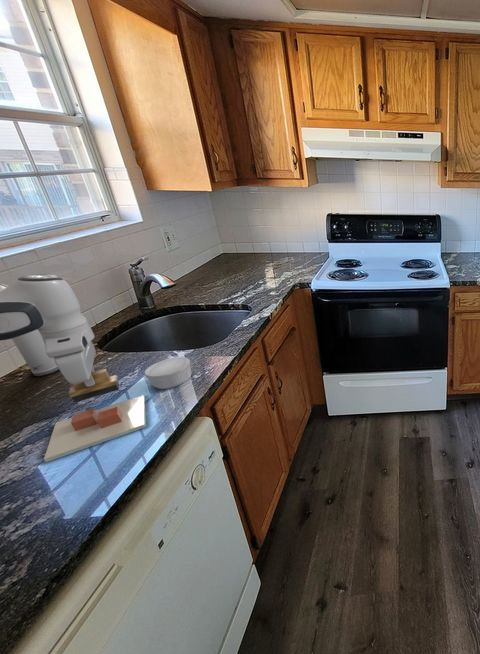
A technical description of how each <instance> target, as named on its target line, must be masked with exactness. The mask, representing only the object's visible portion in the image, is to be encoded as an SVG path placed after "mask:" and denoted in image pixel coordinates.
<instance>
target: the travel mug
mask: <svg viewBox="0 0 480 654" xmlns="http://www.w3.org/2000/svg"><path fill="white" fill-rule="evenodd" d="M11 340H12V341H13V343H14V345H15V347H16V348H17V350H18V351H19V353H20V355H21V356H22V358H23V360H24V361H25V363H26V364H27V366H28V368H29V370H30V371H31V373H32V374H33V376H36V377H41V376H46V375H51V374H53V373H55V372H57V371H58V370H59V368H58V367H57V365H56V363H55V361H54V357H53V358H49V357H48V355H47V353H46V347H45V343H44V341H43V338H42V337H41V335H40V333H39V331H38V330H34V331H32V332H29V333H27V334H24V335H21V336H18V337H15V338H12V339H11Z"/></svg>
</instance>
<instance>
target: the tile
mask: <svg viewBox="0 0 480 654" xmlns="http://www.w3.org/2000/svg"><path fill="white" fill-rule="evenodd" d="M118 406H119V408H120V410H121V412H122V422H119V423H116V424H113V425H110V426H107V427H104V428H101V427H100V425H99V423H98V422H97V424H96V425H93V426H90V427H87V428H84V429H81V430H77V431H75V429H74V428H73V426H72V424H71V421H72V417H69V418H66V419H63V420H60V421H56V422H55V423H54V427H53V430H52V433H51V436H50V439H49V442H48V445H47V448H46V452H45V454H44V457H43V461H44V462H45V463H48V462H51V461H54V460H57V459H60V458H63V457H65V456H68V455H71V454H74V453H76V452H79V451H82V450H85V449H89V448H91V447H94V446H96V445H100V444H102V443H106V442H108V441H110V440H113V439H116V438H119V437H122V436H125V435H128V434H131V433H133V432H136V431H139V430H142V429H144V428H147V421H146V420H147V418H146V417H147V416H146V396H145V394H143V395H140V396H136V397H132V398H129V399H127V400H123V401H120V402H117V403H114V404H111V405H107V406H104V407H101V408H98V409H95V411H96V413H97V415H98V413H99V412H102V411H105V410H108V409H112V408H115V407H118Z"/></svg>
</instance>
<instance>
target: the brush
mask: <svg viewBox="0 0 480 654" xmlns="http://www.w3.org/2000/svg"><path fill="white" fill-rule="evenodd" d="M94 371H95V370H94ZM91 375H92V377H94V379H95V385H93V386H89V387H87V386H86V385H85V383H84V382H80V383H76V384H71V385H72V386H70V387H69V390H68V392H67V395H68V396H69V398H72V400H73V402H74V403H77V402H81V401H85V400H88V399H93V398H96V397H99V396H102V395H105V394H109V393H113V392H116V391H119V390H120V383H119V377H118V375H117V374H115V375H111V376H110V374H109V372H108V370H107V368H103V369H99V370H96V371H95V372H91Z"/></svg>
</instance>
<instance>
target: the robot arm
mask: <svg viewBox="0 0 480 654" xmlns="http://www.w3.org/2000/svg"><path fill="white" fill-rule="evenodd" d="M34 330H38V331H39V333H40V335H41V337H42V338H43V341H44V343H45V347H46V353H47V355H48V357H49V358H53V357H54V361H55V363H56V365H57V367H58V368H59V369H58V370H59V372H60V373H61V374H62V376H63V378H64V379H65V381H66V382H67V383H69V384H71V385H72V384H76V383H80V382H84V383H85V385H86V386H87V387H89V386H93V385H95V379H94V377H92V375H91V372H95V367H94V361H95V359H96V353H97V351H96V348H95V345H94V343H93V342H92V341H93V340H94V339H95V333H94V331H93V330H92V327H91V325H90V323H89V321H88V319H87V318H86V317H85V316H84V315H83V312H82V310H81V304H80V302H79V300H78V297H77V296H76V293H75V292H74V290H73V288H72V287H71V286H70V284H69V283H68V282H67V280H65V279H64V278H62V277H60V276H58V275H54V274H44V273H43V274H42V273H41V274H30V275H23V276H21V277H17V279H16V280H15V281H14V282H12V283H11V284H10V285H7V284H4V283H1V282H0V341H7V340H12V338H15V337H18V336H21V335H24V334H27V333H29V332H32V331H34Z"/></svg>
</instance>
